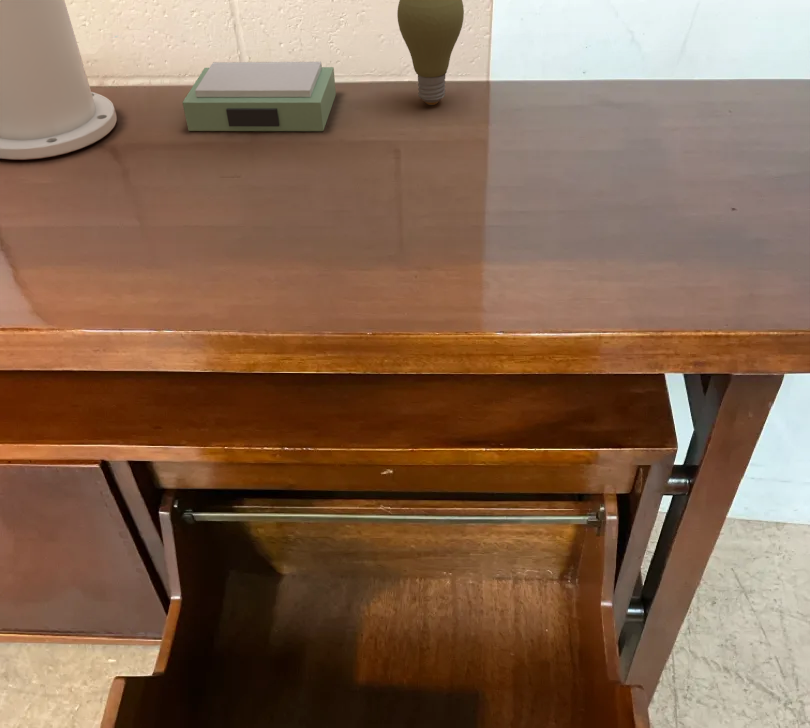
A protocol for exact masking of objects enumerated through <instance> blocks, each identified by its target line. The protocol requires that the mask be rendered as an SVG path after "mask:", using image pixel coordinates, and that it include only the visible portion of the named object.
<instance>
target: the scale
mask: <svg viewBox="0 0 810 728" xmlns="http://www.w3.org/2000/svg"><path fill="white" fill-rule="evenodd" d="M322 65H323V64H322V61H213V62H212V63H211V64H210V66H209V67H204V68H203V70H202V71H201V72H200V74H199V75H198V77H197V79H196V81H195V82H194V84H193V85H192V87H191V88H190V90H189V91H188V93H187V95H186V96H185V98H184V99H183V101H182V102H181V103H182V108H183V112H184V117H185V120H186V125H187V131H188V132H324V131H325V128H326V124H327V122H328V119H329V116H330V113H331V110H332V108H333V104H334V102H335V99H336V96H337V91H336V90H337V89H336V79H335V68H334V66H322Z"/></svg>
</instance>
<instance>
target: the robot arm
mask: <svg viewBox="0 0 810 728" xmlns="http://www.w3.org/2000/svg"><path fill="white" fill-rule="evenodd" d="M68 11H69V10H68V8H67V4H66V1H65V0H0V159H1V160H13V161H14V160H15V161H16V160H17V161H18V160H19V161H21V160H22V161H24V160H25V161H27V160H38V159H39V160H40V159H45V158H53V157H57V156H60V155H65V154H69V153H71V152H76V151H78V150H82V149H83V148H86V147H88V146H91V145H93V144H95V143H96V142H98V141H100V140H102V139H103V138H104V137H106V136H107V135H108V134H110V132H111V131H112V130H113V129H114V128H115V126H116V123H117V121H118V117H117V112H116V109H115V106H114V103H113V102H112V101H111V100H110V99H109V97H106V96H104V95H102V94H100V93H97V92H94V91H92V90H91V86H90V82H89V80H88V76H87V73H86V69H85V66H84V62H83V59H82V55H81V51H80V48H79V45H78V42H77V39H76V35H75V31H74V29H73V28H74V27H73V24H72V21H71V18H70V13H69V12H68Z"/></svg>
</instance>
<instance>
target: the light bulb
mask: <svg viewBox="0 0 810 728" xmlns="http://www.w3.org/2000/svg"><path fill="white" fill-rule="evenodd" d="M397 4H398V5H397V13H396V14H397V17H396V18H397V24H398V28H399V32H400V34H401V36H402V39H403V41H404V43H405V44H406V47H407V49H408V52H409V55H410V57H411V61H412V67H413V70H414V72H415V73H416V75H417V82H418V83H417V90H418V93H417V94H418V97H419V99H420V100H422V101H423V102H424V103H425V104H427V106H435V105H437V104H438V103H439V102H440V101H441V100H442V99H443V98H444V97H445V96H446V75H447V72H448V69H449V65H450V61H451V56H452V52H453V50H454V47H455V45H456V43H457V41H458V39H459V36H460V34H461V31H462V29H463V24H464V17H465V16H464V15H465V10H464V2H463V0H399V1H398V3H397Z"/></svg>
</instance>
